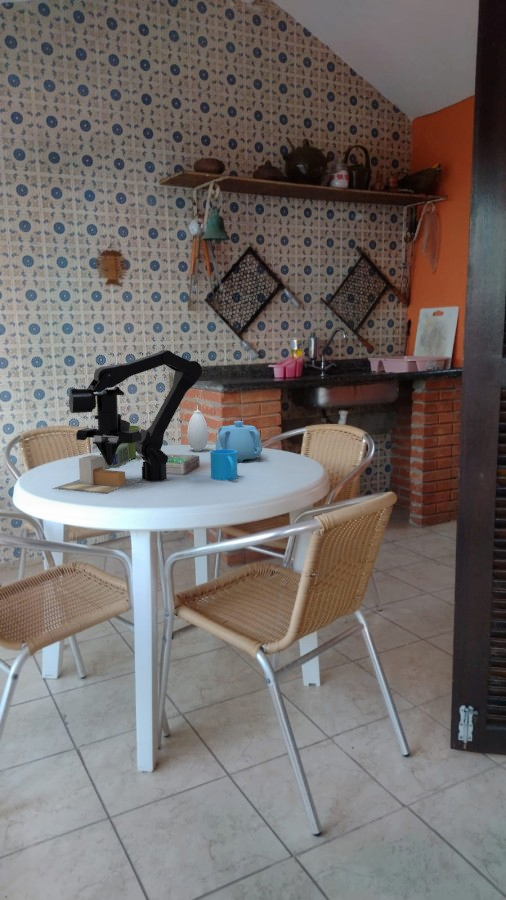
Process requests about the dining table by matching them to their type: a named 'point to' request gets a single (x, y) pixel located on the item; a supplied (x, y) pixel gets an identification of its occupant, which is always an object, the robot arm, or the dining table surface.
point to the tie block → (90, 467)
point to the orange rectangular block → (108, 477)
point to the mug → (223, 464)
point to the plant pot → (132, 445)
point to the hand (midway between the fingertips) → (109, 465)
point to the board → (127, 482)
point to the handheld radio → (119, 456)
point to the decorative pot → (240, 440)
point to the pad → (89, 488)
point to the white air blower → (197, 431)
